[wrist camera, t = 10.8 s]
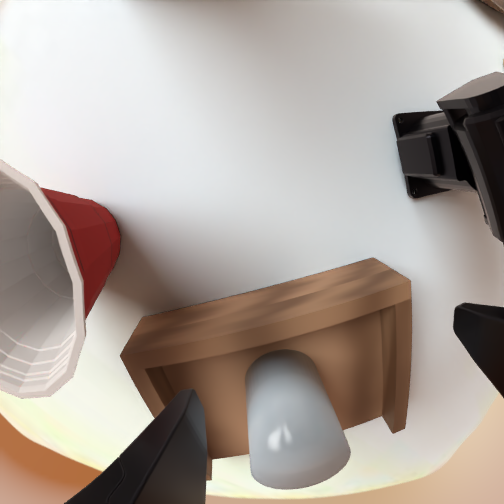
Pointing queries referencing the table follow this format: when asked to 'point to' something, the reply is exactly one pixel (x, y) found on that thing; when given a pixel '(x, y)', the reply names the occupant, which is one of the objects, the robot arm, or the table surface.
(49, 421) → the table surface
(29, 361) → the plastic cup
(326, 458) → the grey rounded cone
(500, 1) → the plant saucer
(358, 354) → the wooden tray
